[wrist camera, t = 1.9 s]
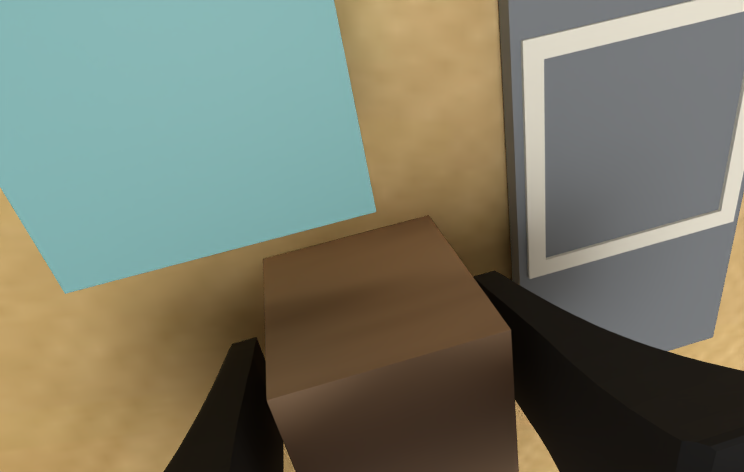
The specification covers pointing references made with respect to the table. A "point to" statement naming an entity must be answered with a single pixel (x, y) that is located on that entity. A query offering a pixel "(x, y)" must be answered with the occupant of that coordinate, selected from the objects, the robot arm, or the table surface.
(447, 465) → the walnut block
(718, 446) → the robot arm
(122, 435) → the table surface
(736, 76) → the grey board with square
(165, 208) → the teal block
